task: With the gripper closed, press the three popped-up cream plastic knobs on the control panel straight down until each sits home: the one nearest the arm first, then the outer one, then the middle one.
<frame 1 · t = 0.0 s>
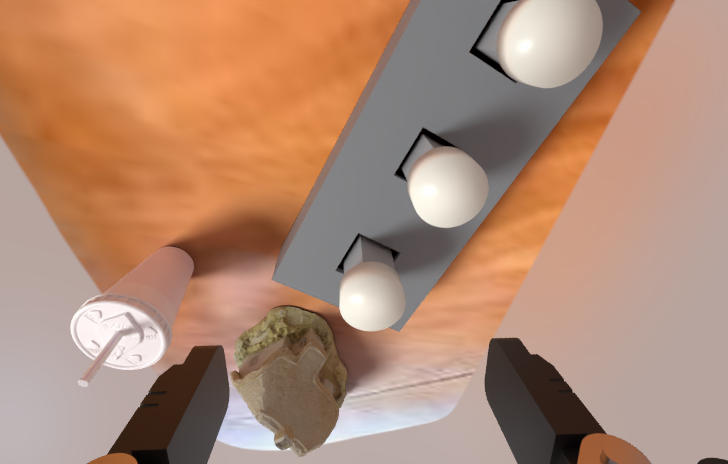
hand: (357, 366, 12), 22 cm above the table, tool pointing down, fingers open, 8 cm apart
knob outer: (369, 277, 28), point 7 cm above the table, slide at 0.0 cm
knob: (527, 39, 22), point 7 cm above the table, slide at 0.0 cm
ceramic model: (296, 357, 42), on the table
smoothie: (174, 262, 35), on the table
knob middle: (437, 174, 25), point 7 cm above the table, slide at 0.0 cm
control panel: (418, 145, 31), on the table
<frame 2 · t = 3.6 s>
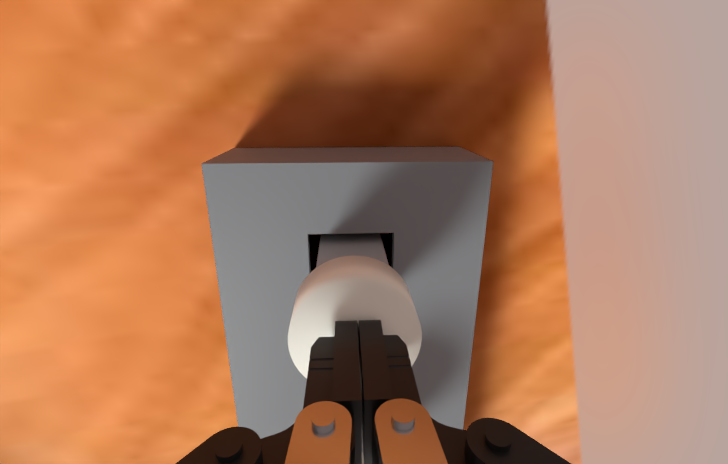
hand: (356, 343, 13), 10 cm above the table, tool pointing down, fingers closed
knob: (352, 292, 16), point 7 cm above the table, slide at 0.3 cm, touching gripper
knob middle: (354, 462, 18), point 7 cm above the table, slide at 0.0 cm
control panel: (351, 364, 25), on the table
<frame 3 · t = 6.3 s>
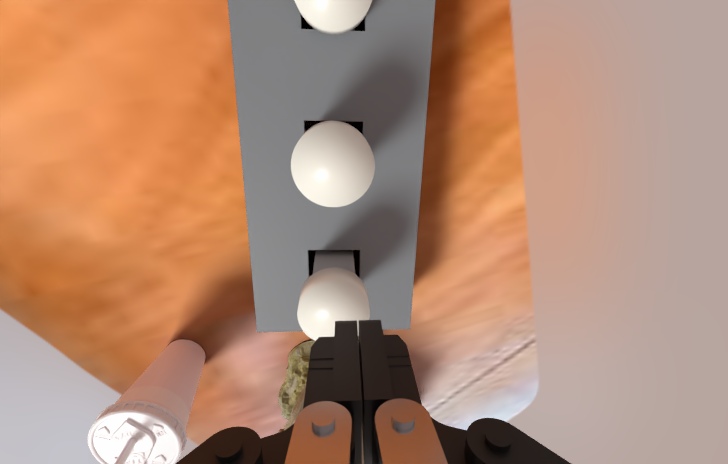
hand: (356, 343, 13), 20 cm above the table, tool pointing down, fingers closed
knob outer: (334, 287, 26), point 7 cm above the table, slide at 0.0 cm
ceramic model: (345, 388, 39), on the table
smoothie: (186, 354, 36), on the table
knob middle: (333, 156, 23), point 7 cm above the table, slide at 0.0 cm
control panel: (334, 140, 30), on the table
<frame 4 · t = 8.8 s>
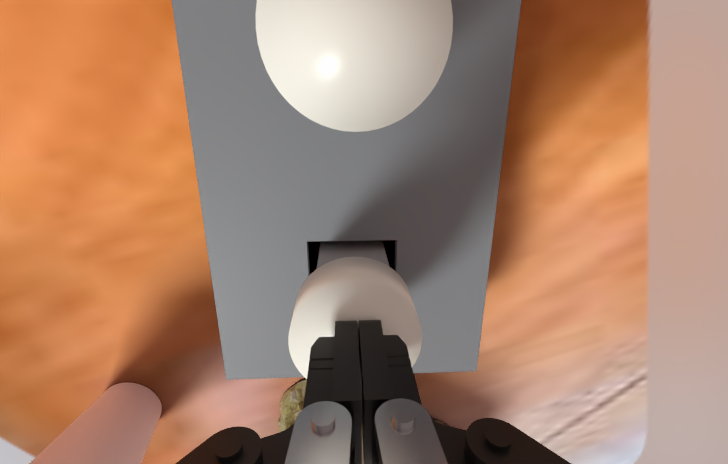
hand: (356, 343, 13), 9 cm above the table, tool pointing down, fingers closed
knob outer: (353, 293, 16), point 6 cm above the table, slide at 1.1 cm, touching gripper
ceramic model: (367, 442, 27), on the table
smoothie: (133, 403, 25), on the table
knob middle: (352, 48, 12), point 7 cm above the table, slide at 0.0 cm
control panel: (348, 65, 18), on the table
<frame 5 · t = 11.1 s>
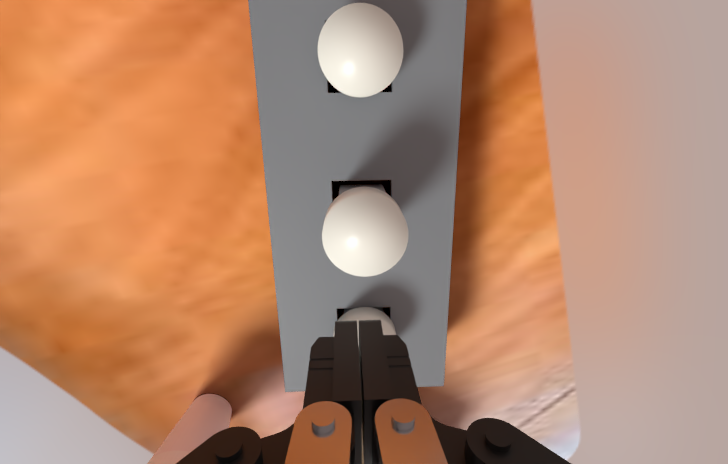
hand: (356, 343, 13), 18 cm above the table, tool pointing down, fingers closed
knob outer: (363, 324, 28), point 4 cm above the table, slide at 3.1 cm
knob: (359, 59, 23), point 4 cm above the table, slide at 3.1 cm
smoothie: (212, 408, 35), on the table
knob middle: (363, 218, 23), point 7 cm above the table, slide at 0.0 cm
control panel: (360, 193, 29), on the table
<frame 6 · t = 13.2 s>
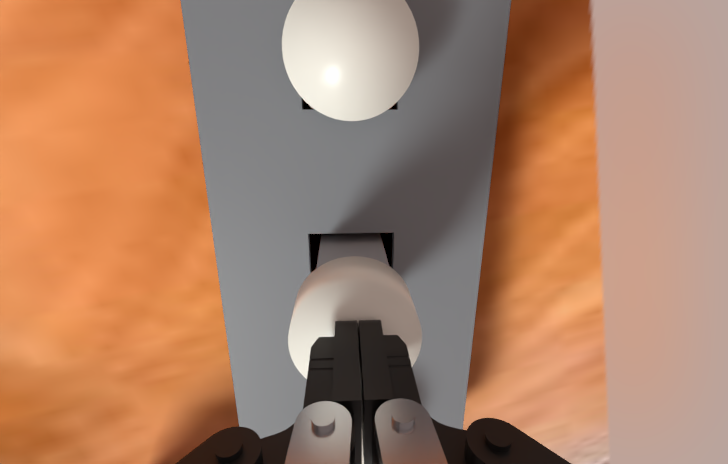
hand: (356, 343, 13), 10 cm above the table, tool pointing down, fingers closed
knob outer: (352, 411, 21), point 4 cm above the table, slide at 3.1 cm
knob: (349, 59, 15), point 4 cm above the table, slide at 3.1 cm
knob middle: (352, 292, 16), point 7 cm above the table, slide at 0.2 cm, touching gripper
control panel: (349, 235, 22), on the table
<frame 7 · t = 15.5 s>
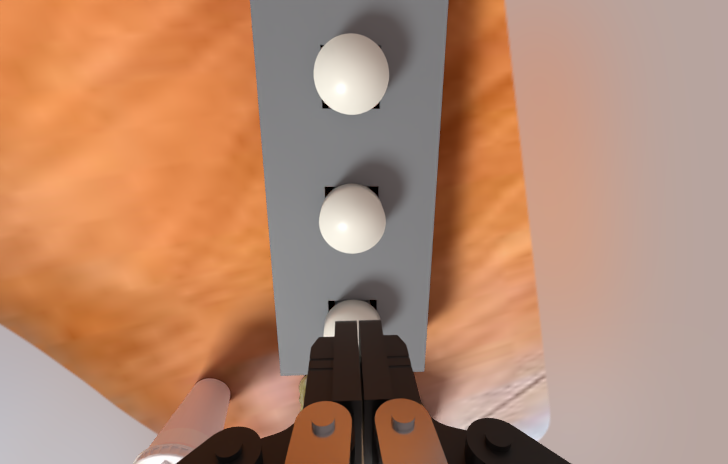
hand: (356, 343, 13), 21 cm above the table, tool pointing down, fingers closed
knob outer: (352, 315, 31), point 4 cm above the table, slide at 3.1 cm
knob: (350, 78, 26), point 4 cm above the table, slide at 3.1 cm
smoothie: (212, 392, 38), on the table
knob middle: (351, 209, 28), point 4 cm above the table, slide at 3.1 cm
control panel: (350, 196, 32), on the table
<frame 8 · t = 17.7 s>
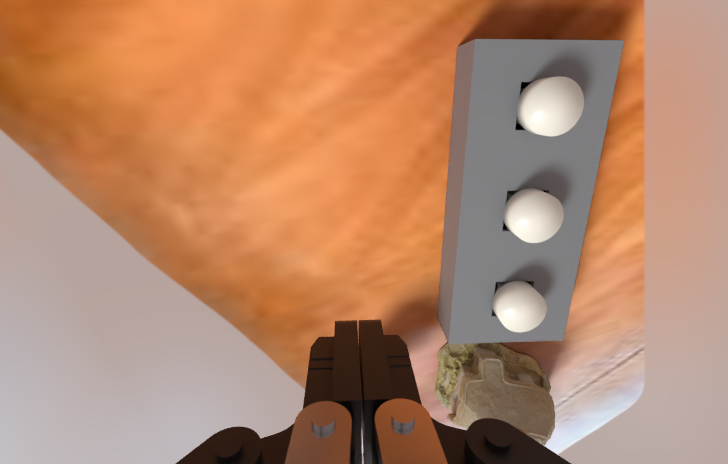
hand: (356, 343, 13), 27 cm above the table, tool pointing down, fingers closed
knob outer: (508, 294, 39), point 4 cm above the table, slide at 3.1 cm
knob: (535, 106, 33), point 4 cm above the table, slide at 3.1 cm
ceramic model: (486, 373, 47), on the table
knob middle: (520, 208, 36), point 4 cm above the table, slide at 3.1 cm
control panel: (503, 197, 40), on the table
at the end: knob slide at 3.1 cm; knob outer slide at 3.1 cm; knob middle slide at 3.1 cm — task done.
